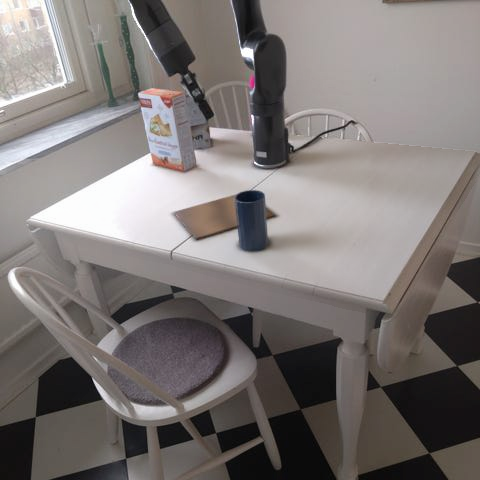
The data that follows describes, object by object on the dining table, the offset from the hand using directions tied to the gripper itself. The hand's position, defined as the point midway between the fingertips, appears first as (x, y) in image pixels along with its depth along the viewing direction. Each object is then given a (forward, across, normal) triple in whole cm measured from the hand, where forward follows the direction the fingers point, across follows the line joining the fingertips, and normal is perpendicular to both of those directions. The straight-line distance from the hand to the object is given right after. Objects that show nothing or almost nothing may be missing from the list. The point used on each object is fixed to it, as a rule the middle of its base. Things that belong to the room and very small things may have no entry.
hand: (209, 115), depth 116 cm
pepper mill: (+20, +47, -12) cm, 53 cm away
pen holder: (+24, -24, +5) cm, 35 cm away
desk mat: (+20, -8, +9) cm, 23 cm away
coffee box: (+12, +46, +7) cm, 48 cm away
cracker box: (+10, +30, +17) cm, 36 cm away
